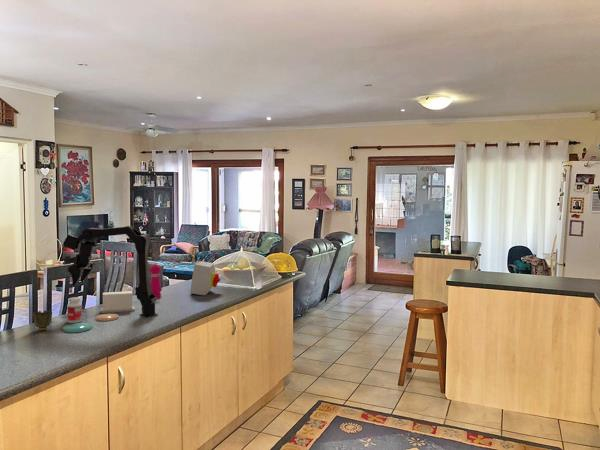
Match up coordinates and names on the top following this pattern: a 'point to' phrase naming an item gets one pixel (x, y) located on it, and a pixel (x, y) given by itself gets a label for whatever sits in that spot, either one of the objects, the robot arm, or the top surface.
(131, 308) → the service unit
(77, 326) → the teal plate
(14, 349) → the top surface
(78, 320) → the pill bottle
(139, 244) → the robot arm
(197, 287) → the electrical switch box
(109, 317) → the terracotta plate
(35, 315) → the cup
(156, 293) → the pepper mill
